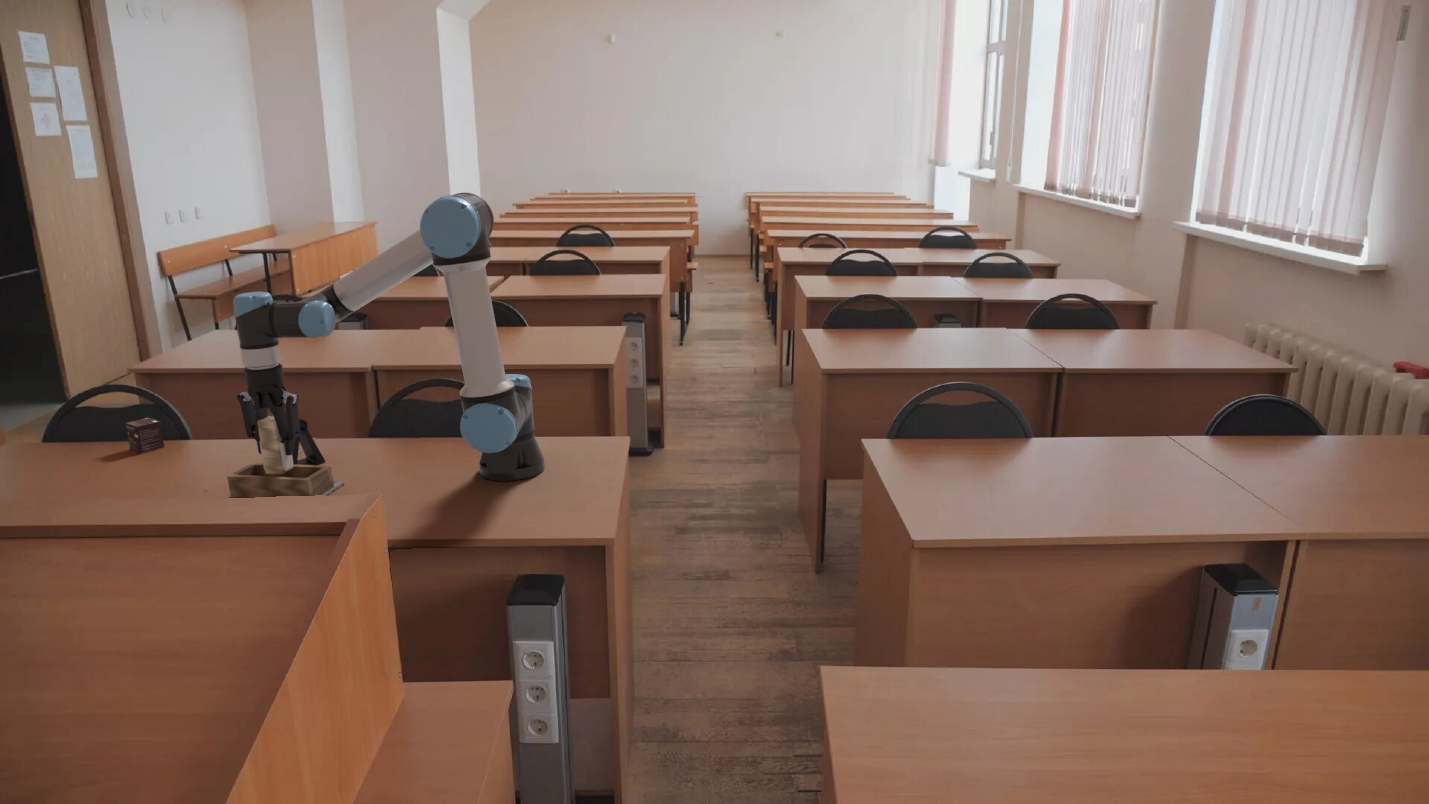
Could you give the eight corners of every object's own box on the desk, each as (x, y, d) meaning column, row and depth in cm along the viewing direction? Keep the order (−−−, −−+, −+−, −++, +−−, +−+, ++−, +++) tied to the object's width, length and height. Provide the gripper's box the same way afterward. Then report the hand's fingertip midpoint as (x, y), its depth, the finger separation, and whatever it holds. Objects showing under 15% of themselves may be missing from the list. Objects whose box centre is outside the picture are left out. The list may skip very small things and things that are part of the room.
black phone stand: (289, 472, 223) (281, 424, 220) (277, 467, 227) (270, 419, 224) (325, 462, 230) (318, 415, 226) (313, 457, 234) (307, 411, 230)
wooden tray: (344, 484, 215) (341, 460, 213) (302, 512, 200) (298, 486, 198) (265, 480, 218) (262, 457, 217) (219, 507, 203) (214, 482, 202)
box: (129, 450, 242) (124, 422, 240) (154, 443, 247) (149, 416, 245) (140, 454, 239) (135, 426, 237) (165, 447, 243) (160, 420, 241)
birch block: (293, 468, 209) (285, 416, 206) (282, 474, 205) (273, 422, 202) (276, 467, 210) (268, 415, 206) (265, 473, 206) (257, 421, 202)
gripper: (309, 361, 203) (323, 463, 209) (238, 359, 206) (255, 460, 212) (288, 370, 196) (303, 475, 202) (215, 368, 199) (233, 472, 205)
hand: (279, 467), depth 207 cm, fingers closed on birch block, 4 cm apart
